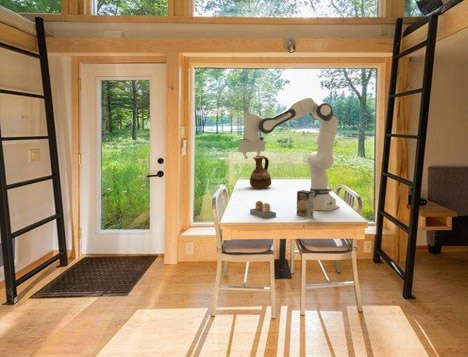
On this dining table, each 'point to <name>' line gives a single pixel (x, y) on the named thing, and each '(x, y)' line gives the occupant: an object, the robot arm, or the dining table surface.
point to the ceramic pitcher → (260, 174)
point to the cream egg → (266, 208)
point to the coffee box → (305, 203)
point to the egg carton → (263, 215)
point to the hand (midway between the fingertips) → (251, 158)
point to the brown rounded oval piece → (259, 206)
